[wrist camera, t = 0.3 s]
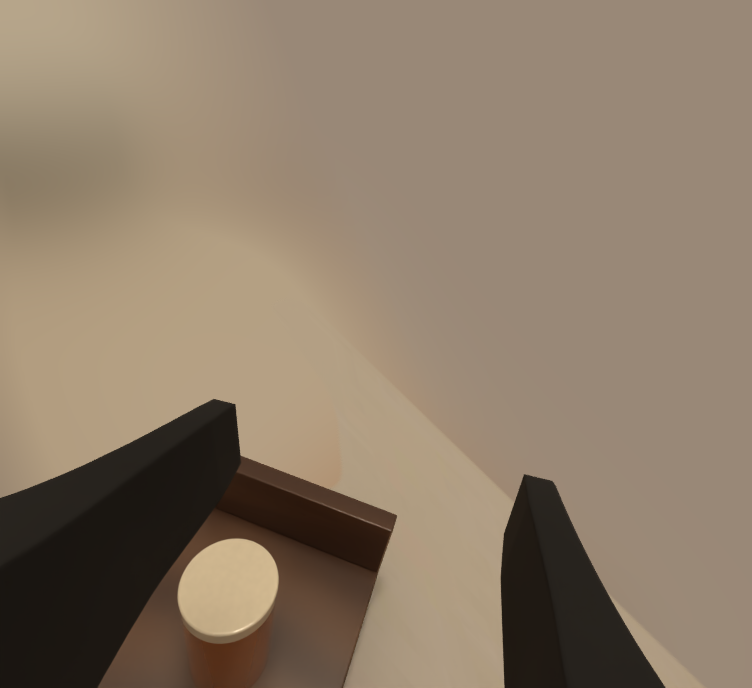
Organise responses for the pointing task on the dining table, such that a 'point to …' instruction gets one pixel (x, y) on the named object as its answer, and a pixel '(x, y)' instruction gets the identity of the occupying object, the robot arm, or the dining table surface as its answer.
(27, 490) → the robot arm
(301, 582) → the brown stepped block
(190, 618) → the spice jar
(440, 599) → the dining table surface
